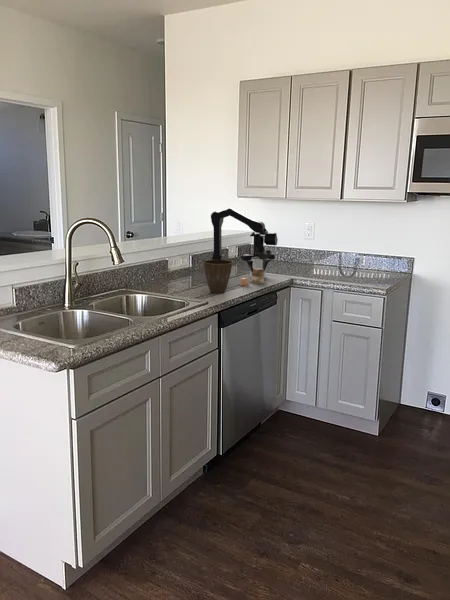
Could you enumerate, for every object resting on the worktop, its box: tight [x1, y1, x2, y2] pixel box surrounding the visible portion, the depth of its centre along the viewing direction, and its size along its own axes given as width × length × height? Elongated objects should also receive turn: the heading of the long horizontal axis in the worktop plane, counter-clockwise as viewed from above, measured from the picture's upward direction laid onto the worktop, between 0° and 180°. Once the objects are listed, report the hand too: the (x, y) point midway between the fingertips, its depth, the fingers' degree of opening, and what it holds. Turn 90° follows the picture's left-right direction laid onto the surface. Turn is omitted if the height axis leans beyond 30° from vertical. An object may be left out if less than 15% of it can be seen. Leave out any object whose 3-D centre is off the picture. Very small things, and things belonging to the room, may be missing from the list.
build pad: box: [249, 280, 269, 286], centre depth 290 cm, size 9×9×1 cm
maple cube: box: [251, 276, 265, 285], centre depth 289 cm, size 5×5×4 cm
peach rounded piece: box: [239, 277, 250, 287], centre depth 282 cm, size 5×5×4 cm
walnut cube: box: [252, 268, 264, 277], centre depth 288 cm, size 5×5×4 cm
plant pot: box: [203, 259, 233, 294], centre depth 264 cm, size 15×15×16 cm
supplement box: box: [249, 259, 267, 279], centre depth 307 cm, size 7×7×13 cm
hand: (257, 272), depth 288 cm, fingers open, 7 cm apart
